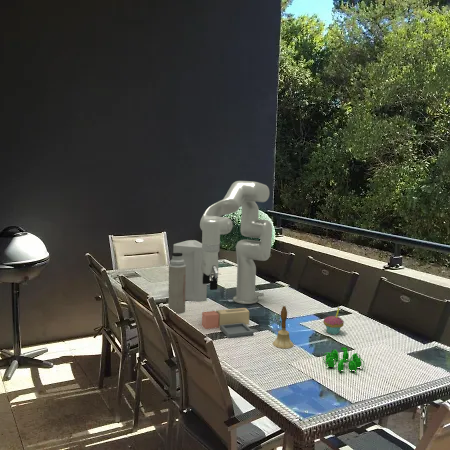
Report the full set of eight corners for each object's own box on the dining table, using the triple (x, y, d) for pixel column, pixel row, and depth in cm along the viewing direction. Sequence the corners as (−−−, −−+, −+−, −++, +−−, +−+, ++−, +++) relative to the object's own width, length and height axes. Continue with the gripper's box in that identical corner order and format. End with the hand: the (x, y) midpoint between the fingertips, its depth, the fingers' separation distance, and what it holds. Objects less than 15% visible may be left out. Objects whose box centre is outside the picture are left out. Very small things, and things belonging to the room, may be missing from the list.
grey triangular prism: (168, 293, 269) (168, 241, 265) (194, 290, 275) (195, 240, 270) (179, 303, 252) (179, 248, 247) (207, 300, 257) (208, 246, 253)
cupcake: (344, 330, 221) (345, 304, 219) (341, 337, 213) (343, 309, 211) (324, 327, 224) (325, 301, 222) (321, 334, 216) (322, 307, 214)
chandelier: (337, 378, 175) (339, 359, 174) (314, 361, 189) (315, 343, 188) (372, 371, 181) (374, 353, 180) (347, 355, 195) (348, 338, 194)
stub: (214, 323, 225) (215, 310, 224) (218, 327, 220) (218, 314, 219) (201, 325, 223) (202, 311, 222) (205, 329, 218) (205, 315, 217)
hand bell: (280, 350, 198) (281, 311, 195) (268, 342, 205) (270, 304, 202) (297, 346, 202) (299, 308, 199) (285, 339, 209) (287, 302, 206)
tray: (243, 326, 222) (243, 322, 222) (253, 335, 212) (253, 331, 212) (219, 329, 218) (219, 325, 218) (228, 338, 208) (229, 334, 208)
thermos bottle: (187, 309, 244) (188, 252, 240) (182, 314, 236) (183, 255, 232) (171, 307, 245) (171, 251, 241) (166, 312, 238) (166, 254, 233)
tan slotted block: (244, 320, 230) (245, 307, 229) (248, 324, 225) (249, 311, 224) (215, 323, 225) (215, 310, 224) (219, 327, 220) (219, 313, 220)
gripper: (196, 244, 223) (195, 282, 225) (208, 252, 207) (207, 292, 209) (212, 243, 225) (211, 281, 228) (226, 251, 209) (224, 291, 212)
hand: (209, 286), depth 219 cm, fingers open, 9 cm apart
